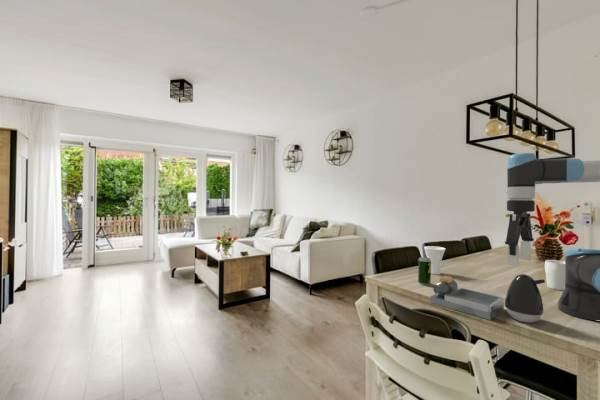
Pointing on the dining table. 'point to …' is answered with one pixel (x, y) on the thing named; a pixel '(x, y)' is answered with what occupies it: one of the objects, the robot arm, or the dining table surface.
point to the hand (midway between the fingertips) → (519, 262)
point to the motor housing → (466, 299)
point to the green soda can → (424, 271)
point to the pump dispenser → (524, 299)
